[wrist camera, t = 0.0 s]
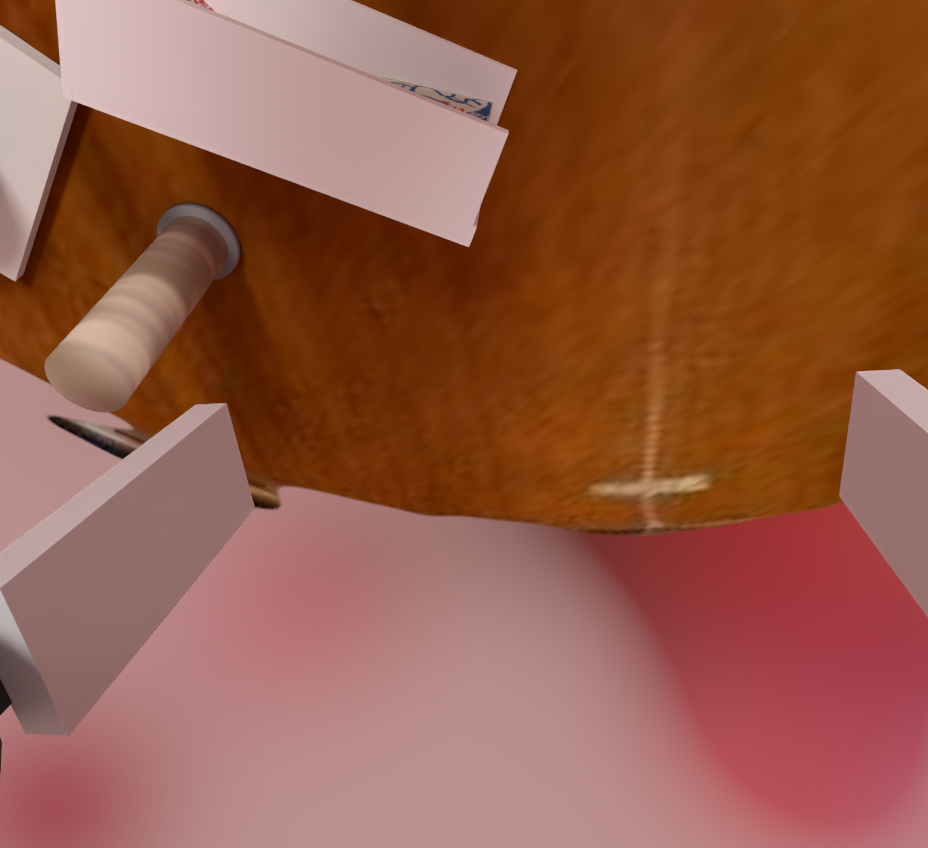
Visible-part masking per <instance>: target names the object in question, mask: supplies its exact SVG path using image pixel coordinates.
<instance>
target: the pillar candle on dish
mask: <svg viewBox="0 0 928 848" xmlns="http://www.w3.org/2000/svg"><path fill="white" fill-rule="evenodd" d="M240 254H241V247H240V242H239V239H238V236H237V234H236V232H235V231H234V229H233V227H232V226H231V225H230V223H229V222H228V221H227V220H226V219H225V218H224V217H223V216H221V215H220V214H219V213H217V212H216V211H214V210H213V209H211V208H209V207H207V206H204V205H201V204H197V203H180V204H177V205H174V206H172V207H171V208H170V209H168V210H167V211H166V212H165V213H164V215H163V216H162V217H161V219H160V220H159V223H158V226H157V238H156V239H155V240H154V242H153V243H152V244H151V245H150V246H149V247H148V248H147V249H146V250H145V251H144V252H143V254H142V255H141V256H140V257H139V258H138V259H137V260H136V261H135V262H134V263H133V264H132V266H131V267H130V268H129V269H128V270H127V271H126V272H125V273H124V274H123V275H122V277H121V278H120V279H119V280H118V281H117V282H116V283H115V284H114V285H113V286H112V287H111V289H110V290H109V291H108V292H107V293H106V294H105V295H104V296H103V297H102V298H101V299H100V301H99V302H98V303H97V304H96V305H95V306H94V307H93V308H92V309H91V310H90V312H89V313H88V314H87V315H86V316H85V317H84V318H83V319H82V320H81V321H80V322H79V324H78V325H77V326H76V327H75V328H74V329H73V330H72V331H71V332H70V333H69V334H68V336H67V337H66V338H65V339H64V340H63V341H62V342H61V343H60V344H59V345H58V347H57V348H56V349H55V350H54V351H53V352H52V353H51V354H50V355H49V356H48V358H47V359H46V361H45V373H46V376H47V378H48V380H49V381H50V383H51V384H52V386H53V387H54V388H55V389H56V390H57V391H58V392H59V393H60V394H61V395H62V396H64V397H65V398H66V399H68V400H69V401H71V402H72V403H74V404H76V405H78V406H80V407H83V408H85V409H88V410H92V411H96V412H113V411H116V410H119V409H121V408H122V407H123V406H124V405H125V404H126V402H127V401H128V400H129V398H130V397H131V395H132V394H133V393H134V391H135V390H136V388H137V387H138V386H139V384H140V383H141V381H142V380H143V379H144V377H145V376H146V374H147V373H148V372H149V370H150V369H151V367H152V366H153V365H154V363H155V362H156V360H157V359H158V358H159V356H160V355H161V353H162V352H163V350H164V349H165V348H166V346H167V345H168V343H169V342H170V341H171V339H172V338H173V336H174V335H175V334H176V332H177V331H178V329H179V328H180V327H181V325H182V324H183V322H184V321H185V320H186V318H187V317H188V315H189V314H190V313H191V311H192V310H193V308H194V307H195V306H196V304H197V303H198V301H199V300H200V299H201V297H202V296H203V294H204V293H205V292H206V290H207V289H208V287H209V286H210V285H211V283H212V282H213V280H218V279H222V278H224V277H226V276H227V275H229V274H230V273H231V272H232V271H233V269H234V268H235V267H236V265H237V264H238V261H239V259H240Z"/></svg>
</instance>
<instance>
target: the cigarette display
mask: <svg viewBox="0 0 928 848" xmlns="http://www.w3.org/2000/svg"><path fill="white" fill-rule="evenodd" d="M55 2H56V15H57V28H58V41H59V54H60V67H61V80H62V90H63V97H64V98H67V99H70V100H72V101H75V102H77V103H80V104H83V105H85V106H88V107H91V108H94V109H96V110H99V111H102V112H104V113H107V114H110V115H112V116H115V117H118V118H121V119H123V120H126V121H129V122H131V123H134V124H137V125H139V126H142V127H145V128H148V129H150V130H153V131H156V132H158V133H161V134H164V135H167V136H169V137H172V138H175V139H177V140H180V141H183V142H185V143H188V144H191V145H194V146H196V147H199V148H202V149H204V150H207V151H210V152H212V153H215V154H218V155H221V156H223V157H226V158H229V159H231V160H234V161H237V162H240V163H242V164H245V165H248V166H250V167H253V168H256V169H258V170H261V171H264V172H267V173H269V174H272V175H275V176H277V177H280V178H283V179H286V180H288V181H291V182H294V183H296V184H299V185H302V186H304V187H307V188H310V189H313V190H315V191H318V192H321V193H323V194H326V195H329V196H331V197H334V198H337V199H340V200H342V201H345V202H348V203H350V204H353V205H356V206H359V207H361V208H364V209H367V210H369V211H372V212H375V213H377V214H380V215H383V216H386V217H388V218H391V219H394V220H396V221H399V222H402V223H404V224H407V225H410V226H413V227H415V228H418V229H421V230H423V231H426V232H429V233H432V234H434V235H437V236H440V237H442V238H445V239H448V240H450V241H453V242H456V243H459V244H461V245H464V246H467V247H469V246H470V243H471V241H472V238H473V236H474V233H475V231H476V228H477V223H478V217H479V212H480V206H481V203H482V201H483V198H484V195H485V193H486V190H487V188H488V185H489V183H490V180H491V177H492V175H493V172H494V170H495V167H496V165H497V162H498V159H499V157H500V154H501V152H502V149H503V147H504V144H505V142H506V139H507V136H508V133H509V130H507V129H504V128H502V127H499V126H497V123H498V121H499V118H500V115H501V113H502V110H503V107H504V105H505V102H506V99H507V97H508V94H509V91H510V89H511V86H512V83H513V81H514V78H515V75H516V73H517V69H514V68H512V67H509V66H507V65H505V64H502V63H500V62H497V61H495V60H493V59H490V58H488V57H486V56H483V55H481V54H478V53H476V52H474V51H471V50H469V49H467V48H464V47H462V46H459V45H457V44H455V43H452V42H450V41H448V40H445V39H443V38H440V37H438V36H436V35H433V34H431V33H429V32H426V31H424V30H421V29H419V28H417V27H414V26H412V25H410V24H407V23H405V22H402V21H400V20H398V19H395V18H393V17H391V16H388V15H386V14H383V13H381V12H379V11H376V10H374V9H371V8H369V7H367V6H364V5H362V4H360V3H357V2H355V1H352V0H55Z"/></svg>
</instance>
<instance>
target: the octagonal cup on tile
mask: <svg viewBox="0 0 928 848" xmlns="http://www.w3.org/2000/svg"><path fill="white" fill-rule="evenodd" d="M77 105H78V103H77V102H75V101H72V100H70V99H67V98H64V97H63V90H62V80H61V67H60V66H59V65H58V64H56V63H55V62H53V61H52V60H51V59H49V58H48V57H46V56H45V55H43V54H42V53H40V52H39V51H37V50H36V49H34V48H33V47H32V46H30V45H29V44H27V43H26V42H24V41H23V40H21V39H20V38H18V37H17V36H15V35H14V34H13V33H11V32H10V31H8V30H7V29H5V28H4V27H2V26H1V25H0V273H1V274H3V275H4V276H6V277H8V278H10V279H12V280H13V281H16V280H18V279H19V278H20V277H21V276H22V275H23V274H24V271H25V268H26V265H27V262H28V259H29V256H30V252H31V249H32V246H33V243H34V240H35V237H36V234H37V231H38V227H39V224H40V221H41V218H42V215H43V212H44V209H45V205H46V202H47V199H48V196H49V193H50V190H51V187H52V183H53V180H54V177H55V174H56V171H57V168H58V165H59V161H60V158H61V155H62V152H63V149H64V146H65V143H66V139H67V136H68V133H69V130H70V127H71V124H72V121H73V118H74V114H75V111H76V108H77Z"/></svg>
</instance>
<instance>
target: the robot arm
mask: <svg viewBox="0 0 928 848" xmlns="http://www.w3.org/2000/svg"><path fill="white" fill-rule="evenodd" d="M839 497H840V498H841V499H842V501H843V502H844V503H845V505H846V506H847V507H848V509H849V510H850V511H851V513H852V514H853V516H854V517H855V518H856V520H857V521H858V523H859V524H860V525H861V527H862V528H863V529H864V531H865V532H866V534H867V535H868V536H869V538H870V539H871V540H872V542H873V543H874V544H875V546H876V547H877V549H878V550H879V551H880V553H881V554H882V555H883V557H884V558H885V560H886V561H887V562H888V563H889V565H890V566H891V568H892V569H893V570H894V572H895V573H896V574H897V576H898V577H899V579H900V580H901V581H902V583H903V584H904V586H905V587H906V588H907V590H908V591H909V592H910V594H911V595H912V597H913V598H914V599H915V601H916V602H917V603H918V605H919V606H920V607H921V609H922V610H923V611H924V613H925V614H926V616H927V617H928V390H927V389H926V388H924V387H923V386H922V385H920V384H919V383H917V382H916V381H915V380H913V379H912V378H911V377H909V376H908V375H907V374H905V373H904V372H903V371H901V370H900V369H899V370H879V371H859V372H856V376H855V383H854V391H853V398H852V406H851V413H850V420H849V428H848V435H847V443H846V450H845V457H844V465H843V472H842V480H841V487H840V494H839ZM254 508H255V507H254V503H253V500H252V496H251V492H250V489H249V485H248V481H247V477H246V474H245V470H244V466H243V463H242V459H241V455H240V451H239V448H238V444H237V440H236V437H235V433H234V429H233V426H232V422H231V418H230V414H229V411H228V407H227V403H220V404H200V405H194V406H193V407H192V408H191V409H189V410H188V411H187V412H185V413H184V414H183V415H181V416H180V417H179V418H177V419H176V420H175V421H173V422H172V423H171V424H169V425H168V426H167V427H165V428H164V429H163V430H161V431H160V432H159V433H157V434H156V435H155V436H153V437H152V438H151V439H149V440H148V441H147V442H145V443H144V444H143V445H141V446H140V447H139V448H137V449H136V450H135V451H133V452H132V453H131V454H129V455H128V456H127V457H126V458H124V459H123V460H122V461H120V462H119V463H118V464H116V465H115V466H114V467H112V468H111V469H110V470H108V471H107V472H106V473H104V474H103V475H102V476H100V477H99V478H98V479H96V480H95V481H94V482H92V483H91V484H90V485H88V486H87V487H86V488H84V489H83V490H82V491H81V492H79V493H78V494H76V495H75V496H74V497H72V498H71V499H70V500H69V501H67V502H66V503H65V504H63V505H62V506H61V507H59V508H58V509H57V510H55V511H54V512H53V513H51V514H50V515H49V516H47V517H46V518H45V519H43V520H42V521H41V522H39V523H38V524H37V525H35V526H34V527H33V528H31V529H30V530H29V531H27V532H26V533H25V534H23V535H22V536H21V537H19V538H18V539H17V540H15V541H14V542H13V543H11V544H10V545H9V546H7V548H5V549H3V550H2V551H1V552H0V715H1V714H2V713H3V712H4V711H5V710H6V709H7V708H8V707H9V706H10V705H11V706H12V708H13V710H14V712H15V714H16V716H17V718H18V720H19V721H20V723H21V725H22V727H23V729H24V731H25V733H26V734H47V735H68V736H69V735H70V734H71V733H72V732H73V730H74V729H75V728H76V727H77V726H78V724H79V723H80V722H81V721H82V719H83V718H84V717H85V716H86V714H87V713H88V712H89V711H90V710H91V708H92V707H93V706H94V704H95V703H96V702H97V701H98V700H99V699H100V697H101V696H102V695H103V694H104V692H105V691H106V690H107V689H108V687H109V686H110V685H111V684H112V682H113V681H114V680H115V679H116V678H117V676H118V675H119V674H120V673H121V672H122V670H123V669H124V668H125V667H126V665H127V664H128V663H129V662H130V660H131V659H132V658H133V657H134V655H135V654H136V653H137V652H138V651H139V649H140V648H141V647H142V646H143V645H144V643H145V642H146V641H147V640H148V638H149V637H150V636H151V635H152V633H153V632H154V631H155V630H156V629H157V627H158V626H159V625H160V623H161V622H162V621H163V620H164V619H165V618H166V616H167V615H168V614H169V613H170V611H171V610H172V609H173V608H174V607H175V605H176V604H177V603H178V602H179V600H180V599H181V598H182V597H183V595H184V594H185V593H186V591H188V589H189V588H190V587H191V586H192V584H193V583H194V582H195V581H196V580H197V578H198V577H199V576H200V575H201V573H202V572H203V571H204V570H205V568H206V567H207V566H208V565H209V564H210V562H211V561H212V560H213V559H214V557H215V556H216V555H217V554H218V553H219V551H220V550H221V549H222V548H223V546H224V545H225V544H226V543H227V541H228V540H229V539H230V538H231V537H232V535H233V534H234V533H235V532H236V530H237V529H238V528H239V527H240V526H241V524H242V523H243V522H244V521H245V519H246V518H247V517H248V516H249V514H250V513H251V512H252V511H253V510H254ZM1 747H2V742H1V739H0V770H1Z"/></svg>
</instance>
